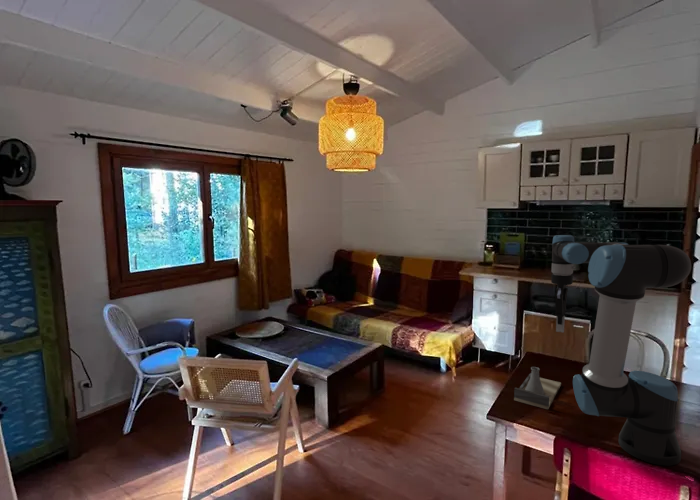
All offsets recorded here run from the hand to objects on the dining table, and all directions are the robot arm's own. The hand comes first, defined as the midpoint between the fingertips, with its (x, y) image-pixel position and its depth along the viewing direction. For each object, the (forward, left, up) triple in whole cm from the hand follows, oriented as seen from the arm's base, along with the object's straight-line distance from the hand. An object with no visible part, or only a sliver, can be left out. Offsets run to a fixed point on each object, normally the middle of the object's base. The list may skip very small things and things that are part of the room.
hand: (560, 331), depth 159 cm
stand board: (-10, +5, -24) cm, 26 cm away
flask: (-13, +6, -23) cm, 27 cm away
